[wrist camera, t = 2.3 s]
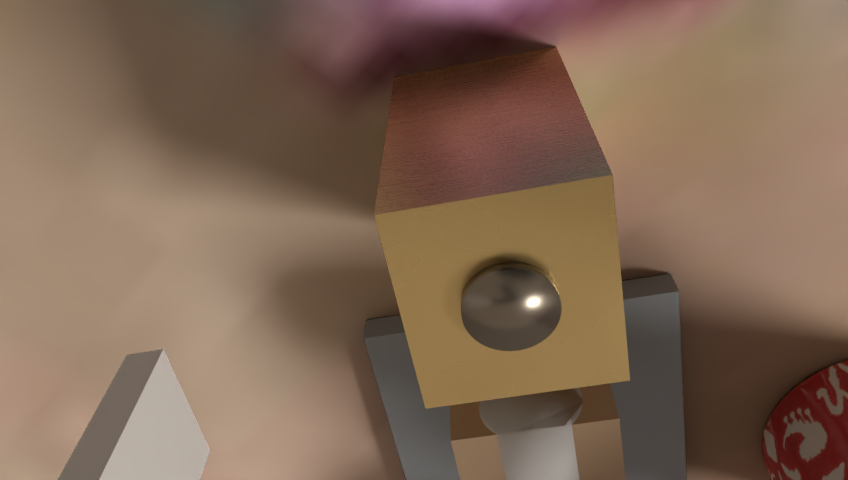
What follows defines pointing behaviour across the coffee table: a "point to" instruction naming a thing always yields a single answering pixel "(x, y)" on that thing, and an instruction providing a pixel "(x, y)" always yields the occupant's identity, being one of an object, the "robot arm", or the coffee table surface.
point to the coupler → (501, 232)
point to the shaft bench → (631, 397)
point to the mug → (810, 429)
